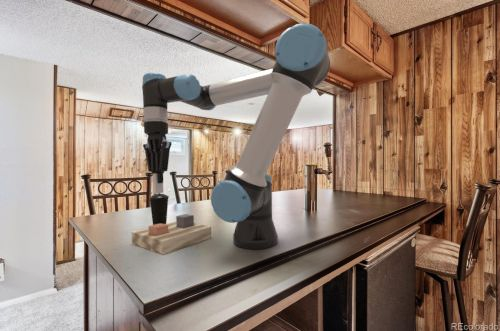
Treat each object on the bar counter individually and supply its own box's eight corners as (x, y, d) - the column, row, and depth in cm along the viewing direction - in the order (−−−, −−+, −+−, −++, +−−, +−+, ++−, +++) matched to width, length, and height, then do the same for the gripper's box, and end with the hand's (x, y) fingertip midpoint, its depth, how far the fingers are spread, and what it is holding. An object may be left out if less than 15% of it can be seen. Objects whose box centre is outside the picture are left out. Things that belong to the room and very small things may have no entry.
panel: (211, 237, 90) (211, 226, 90) (162, 254, 74) (162, 241, 74) (180, 230, 101) (179, 220, 101) (131, 243, 85) (131, 232, 85)
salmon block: (168, 239, 83) (168, 225, 83) (156, 243, 80) (156, 227, 80) (160, 237, 86) (160, 223, 86) (148, 241, 82) (148, 226, 82)
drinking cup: (163, 232, 98) (162, 181, 98) (145, 231, 99) (144, 181, 99) (173, 227, 105) (172, 180, 105) (156, 227, 107) (155, 180, 107)
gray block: (193, 228, 92) (193, 215, 92) (184, 231, 89) (183, 217, 89) (186, 227, 95) (185, 214, 95) (176, 229, 91) (176, 216, 91)
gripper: (177, 120, 82) (180, 192, 82) (155, 125, 89) (157, 191, 90) (157, 117, 76) (159, 195, 76) (134, 123, 83) (137, 193, 84)
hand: (158, 193), depth 83 cm, fingers closed
